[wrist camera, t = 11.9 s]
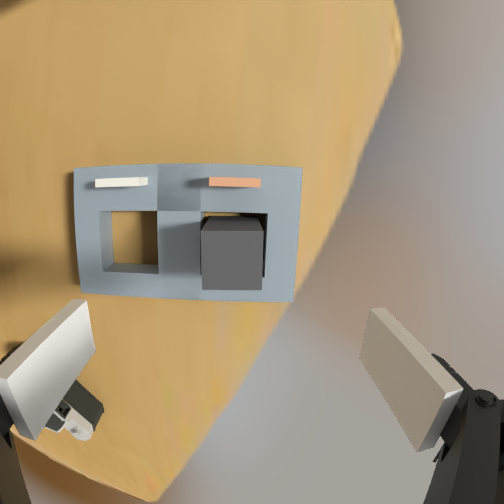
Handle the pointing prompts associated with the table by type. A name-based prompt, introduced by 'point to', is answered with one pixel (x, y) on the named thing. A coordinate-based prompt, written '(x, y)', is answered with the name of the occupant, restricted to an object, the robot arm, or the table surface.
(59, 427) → the camera
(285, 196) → the socket block
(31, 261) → the table surface
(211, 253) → the plug
